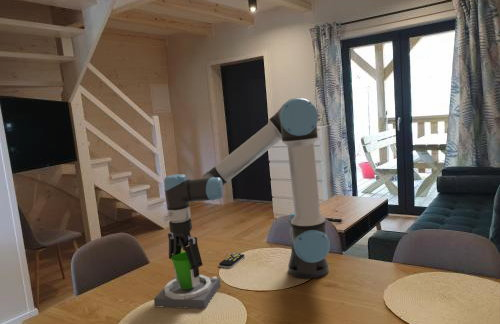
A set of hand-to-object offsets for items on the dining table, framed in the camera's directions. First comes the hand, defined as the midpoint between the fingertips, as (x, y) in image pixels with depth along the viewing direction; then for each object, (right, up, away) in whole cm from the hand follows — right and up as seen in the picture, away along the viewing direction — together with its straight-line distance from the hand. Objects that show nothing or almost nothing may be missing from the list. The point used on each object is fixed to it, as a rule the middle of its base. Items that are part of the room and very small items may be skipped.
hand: (187, 281), depth 128 cm
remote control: (+14, -1, +28) cm, 31 cm away
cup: (0, -2, 0) cm, 2 cm away
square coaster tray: (0, -5, +1) cm, 5 cm away
